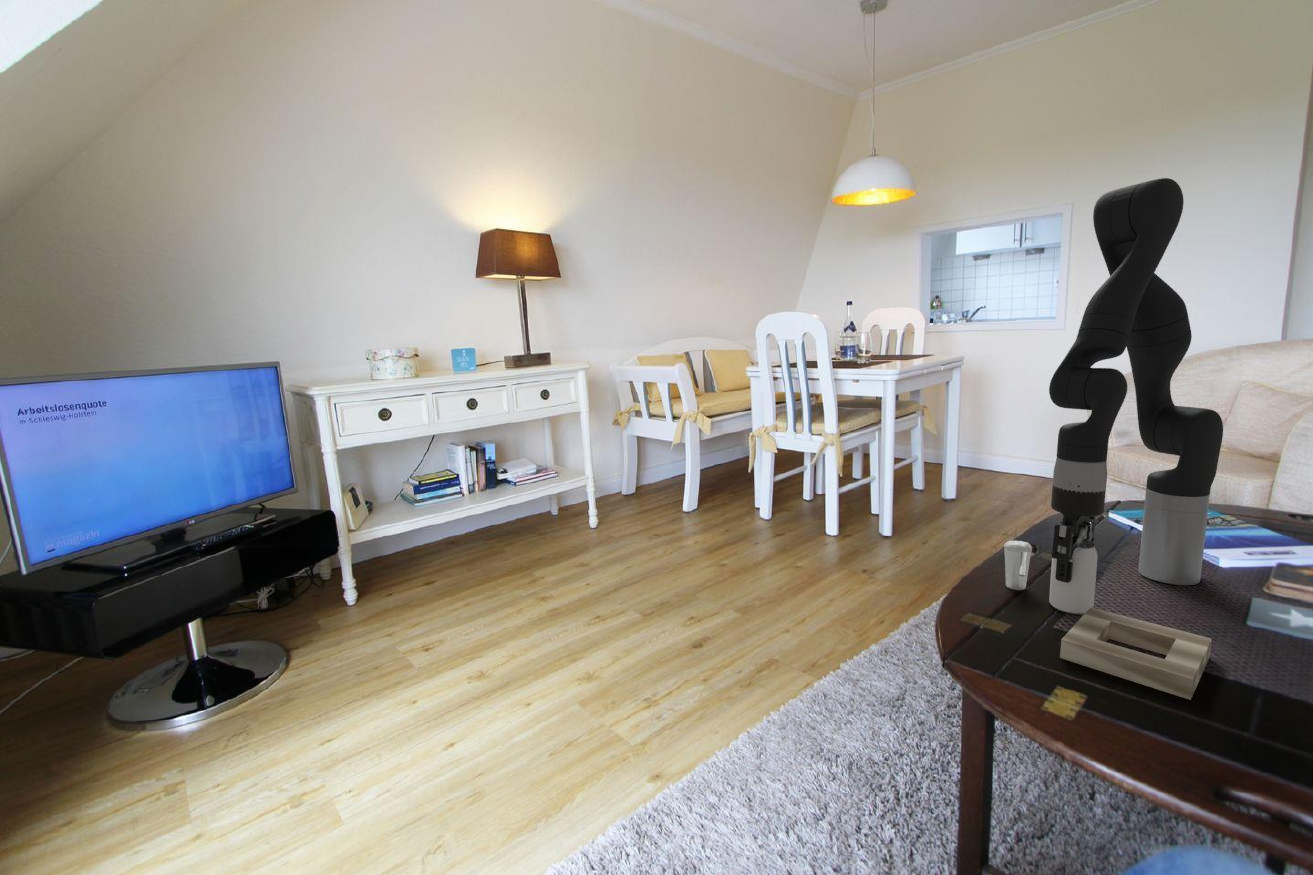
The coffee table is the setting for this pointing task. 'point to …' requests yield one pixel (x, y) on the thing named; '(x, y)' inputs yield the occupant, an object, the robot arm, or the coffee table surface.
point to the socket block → (1163, 674)
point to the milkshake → (1017, 563)
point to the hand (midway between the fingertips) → (1071, 574)
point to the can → (1076, 582)
